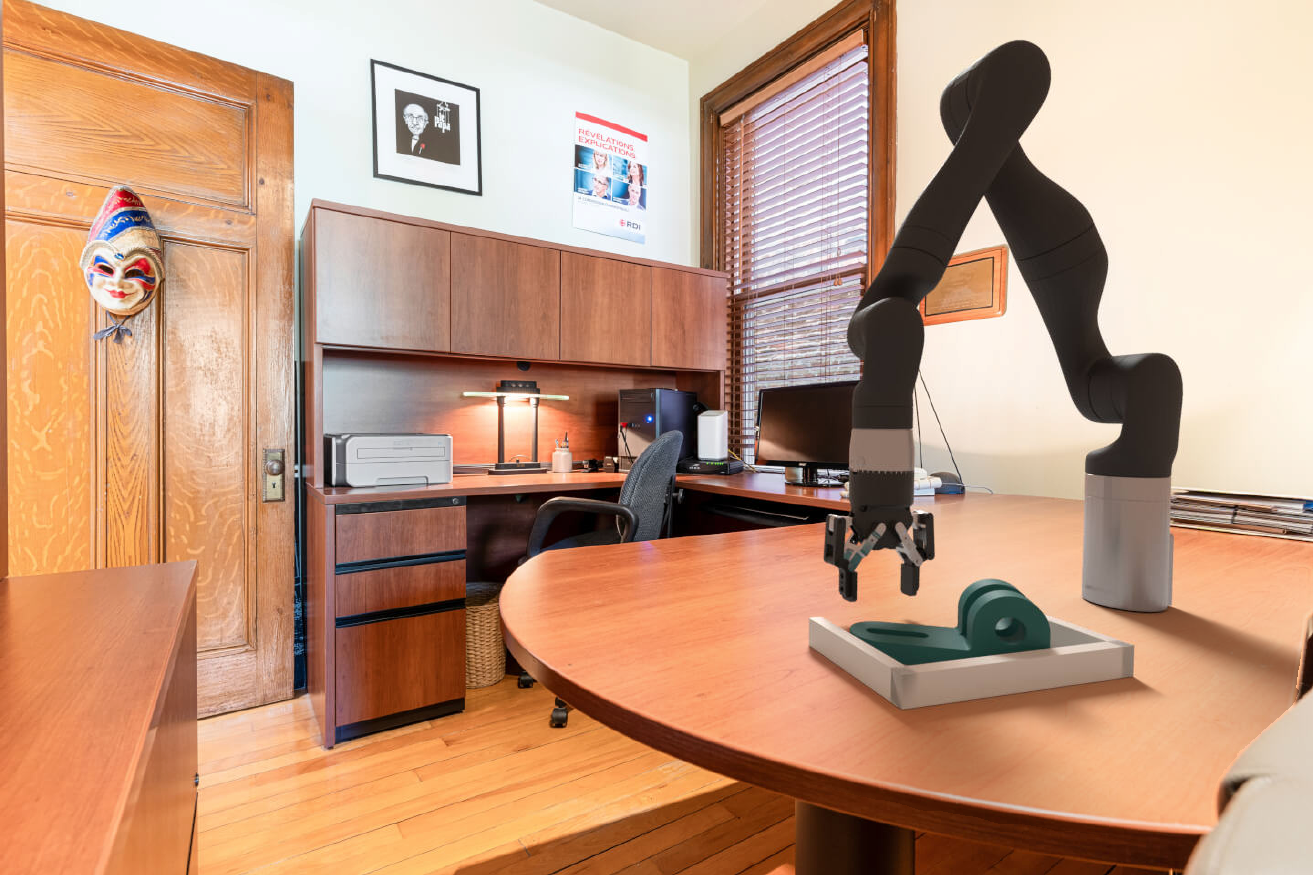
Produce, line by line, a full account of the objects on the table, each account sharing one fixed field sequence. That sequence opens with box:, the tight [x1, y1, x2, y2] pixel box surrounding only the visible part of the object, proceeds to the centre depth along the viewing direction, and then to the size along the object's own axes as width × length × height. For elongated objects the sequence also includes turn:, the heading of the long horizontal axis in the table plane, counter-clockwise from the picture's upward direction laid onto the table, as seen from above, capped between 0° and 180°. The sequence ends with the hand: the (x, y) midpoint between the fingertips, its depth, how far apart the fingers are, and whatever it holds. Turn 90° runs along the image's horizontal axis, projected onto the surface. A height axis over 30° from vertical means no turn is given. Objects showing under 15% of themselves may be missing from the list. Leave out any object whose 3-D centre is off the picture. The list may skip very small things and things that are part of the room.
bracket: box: [849, 578, 1051, 666], centre depth 64 cm, size 18×7×8 cm, turn 75°
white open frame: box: [808, 613, 1135, 710], centre depth 63 cm, size 26×16×3 cm, turn 106°
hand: (879, 597), depth 76 cm, fingers open, 8 cm apart
